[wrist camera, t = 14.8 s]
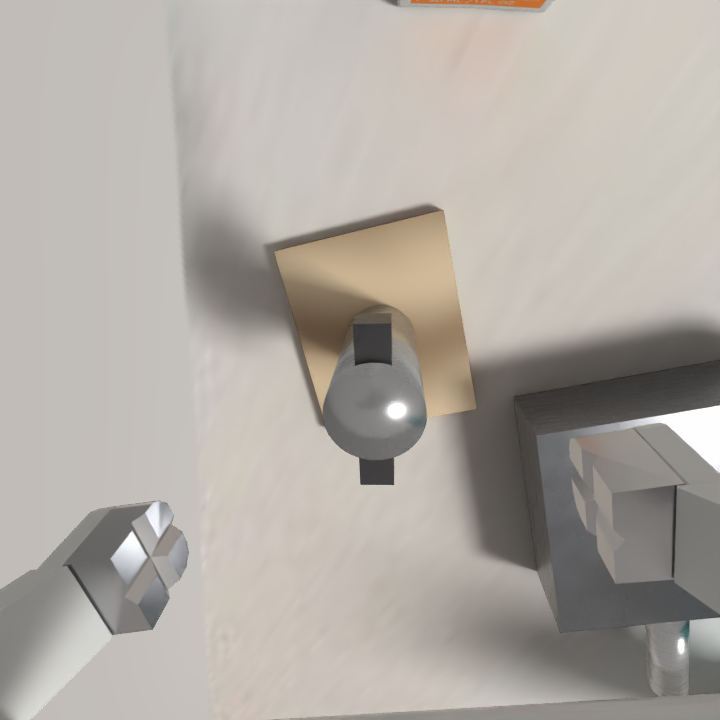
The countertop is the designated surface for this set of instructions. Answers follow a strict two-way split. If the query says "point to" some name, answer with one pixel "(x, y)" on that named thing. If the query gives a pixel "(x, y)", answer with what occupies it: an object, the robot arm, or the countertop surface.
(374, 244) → the pad
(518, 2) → the skincare box
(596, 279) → the countertop surface
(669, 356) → the countertop surface
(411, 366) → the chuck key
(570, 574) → the grey handled square frame
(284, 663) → the countertop surface
